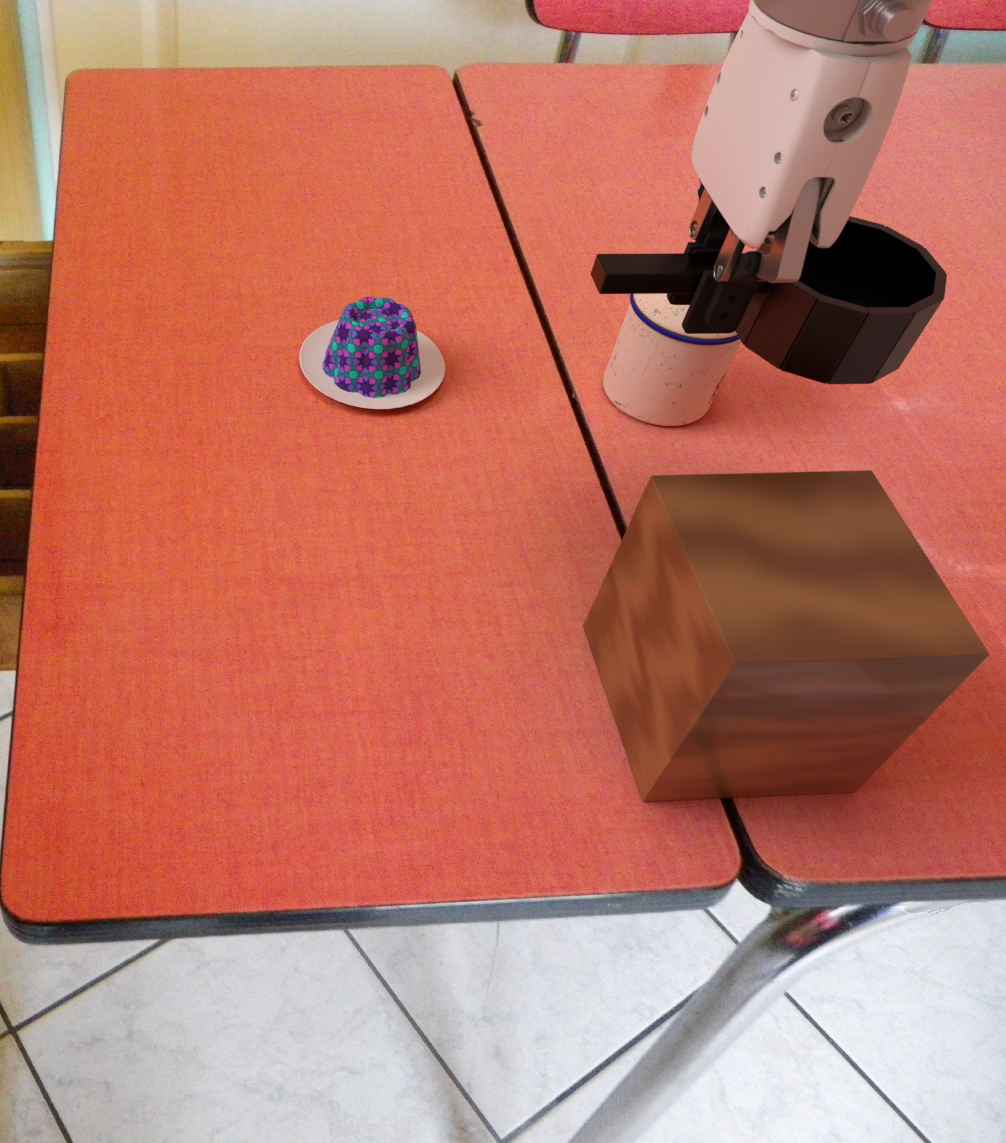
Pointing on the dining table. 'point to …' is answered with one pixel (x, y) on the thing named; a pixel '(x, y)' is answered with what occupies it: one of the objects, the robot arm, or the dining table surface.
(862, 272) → the pan
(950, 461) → the dining table surface
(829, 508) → the wooden cube
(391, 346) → the pudding
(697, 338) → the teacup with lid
